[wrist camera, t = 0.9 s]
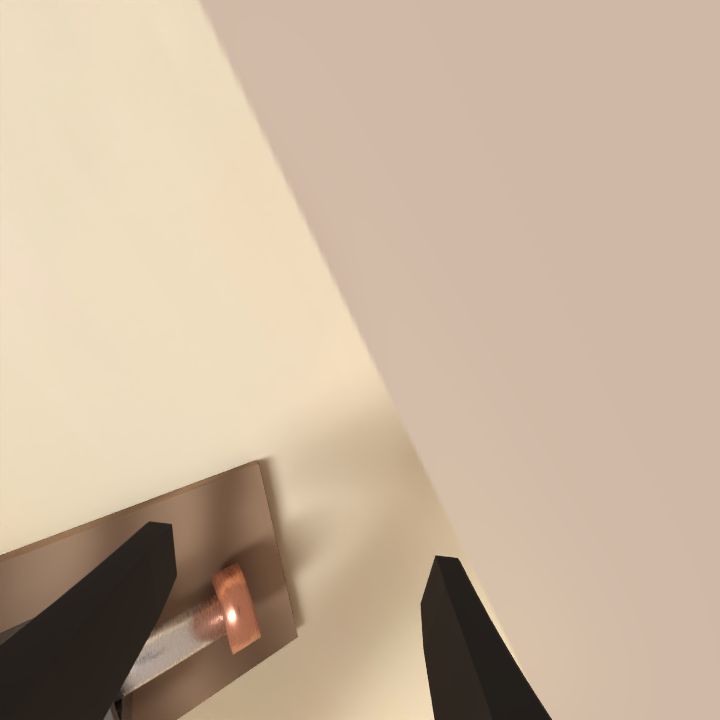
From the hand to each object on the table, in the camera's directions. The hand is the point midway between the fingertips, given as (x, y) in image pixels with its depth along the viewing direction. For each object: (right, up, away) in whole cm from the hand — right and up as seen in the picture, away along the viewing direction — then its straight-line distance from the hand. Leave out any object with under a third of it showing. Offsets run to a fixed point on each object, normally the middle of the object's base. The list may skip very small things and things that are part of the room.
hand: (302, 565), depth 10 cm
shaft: (-11, -10, +12) cm, 19 cm away
